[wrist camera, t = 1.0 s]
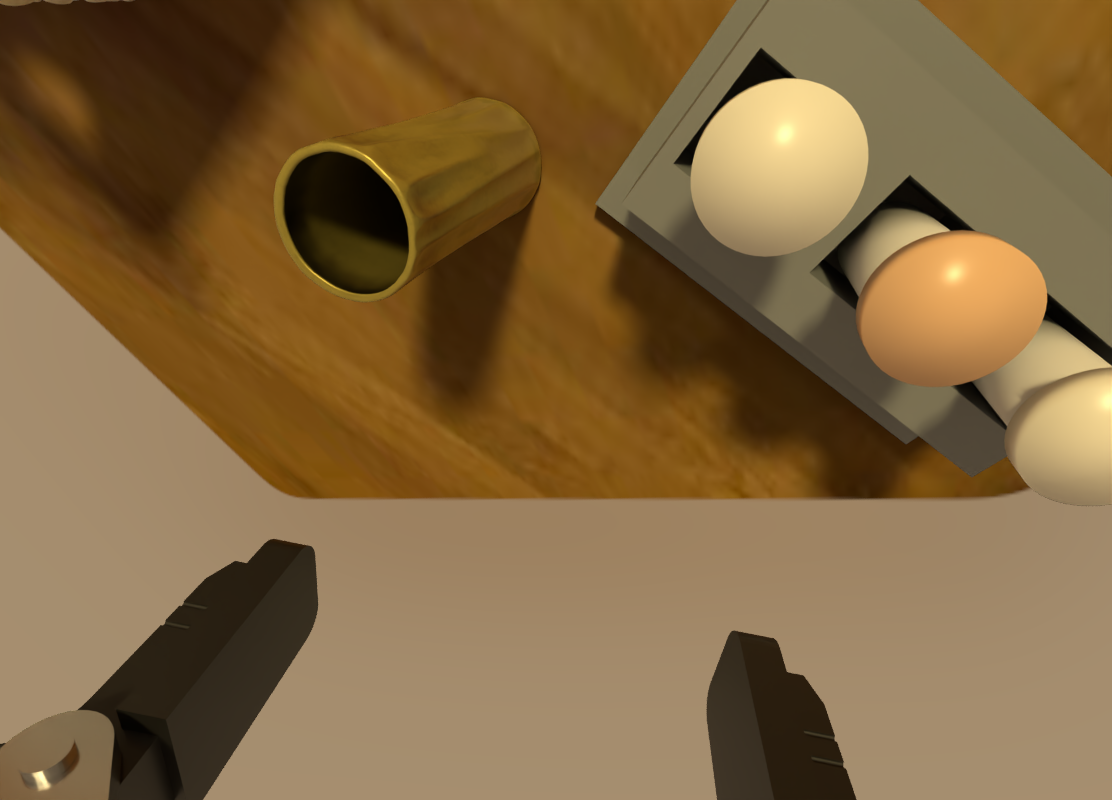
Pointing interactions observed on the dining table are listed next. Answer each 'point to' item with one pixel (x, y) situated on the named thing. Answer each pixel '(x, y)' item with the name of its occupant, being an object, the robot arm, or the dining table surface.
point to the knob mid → (939, 296)
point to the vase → (403, 195)
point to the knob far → (1057, 416)
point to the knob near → (779, 167)
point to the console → (882, 194)
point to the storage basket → (23, 0)
